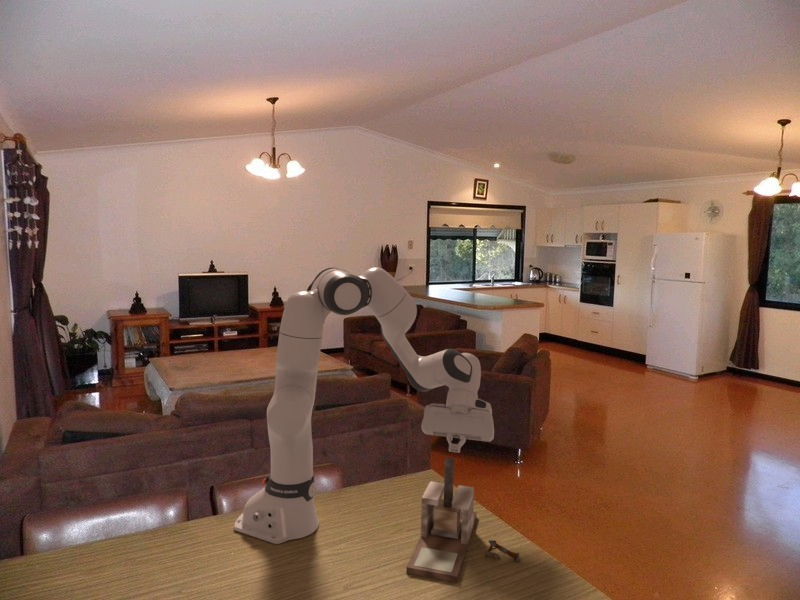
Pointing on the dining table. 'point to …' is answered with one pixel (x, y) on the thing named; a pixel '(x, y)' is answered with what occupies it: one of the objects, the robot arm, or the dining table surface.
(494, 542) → the toy flintlock pistol
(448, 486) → the rod on wooden block
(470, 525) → the tunnel track
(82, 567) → the dining table surface
